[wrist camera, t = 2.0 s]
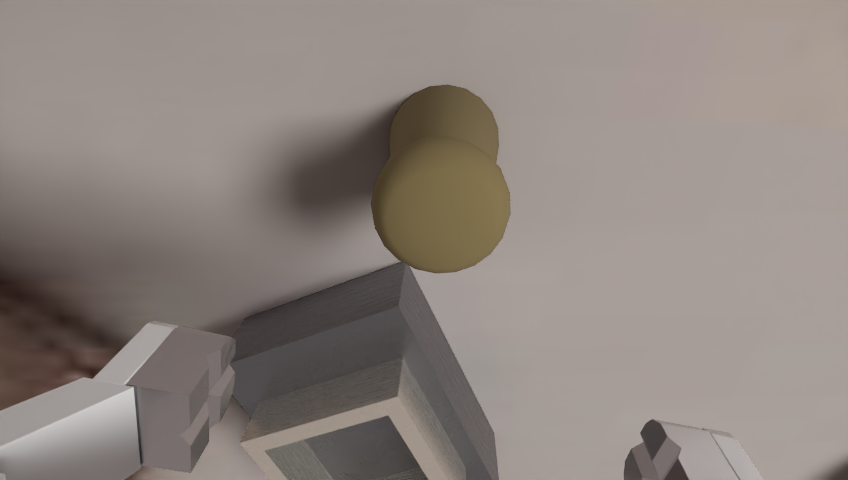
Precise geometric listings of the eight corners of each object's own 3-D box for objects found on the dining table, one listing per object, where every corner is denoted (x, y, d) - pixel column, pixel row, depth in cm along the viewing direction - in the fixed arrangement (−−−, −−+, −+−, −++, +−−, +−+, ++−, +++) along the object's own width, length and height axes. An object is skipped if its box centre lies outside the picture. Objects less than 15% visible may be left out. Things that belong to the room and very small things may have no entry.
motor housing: (245, 318, 32) (186, 408, 25) (406, 260, 30) (392, 342, 23) (353, 470, 39) (331, 576, 32) (494, 433, 36) (504, 540, 29)
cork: (411, 66, 25) (386, 109, 15) (518, 110, 25) (560, 180, 16) (374, 170, 27) (331, 266, 17) (471, 208, 28) (483, 320, 18)
